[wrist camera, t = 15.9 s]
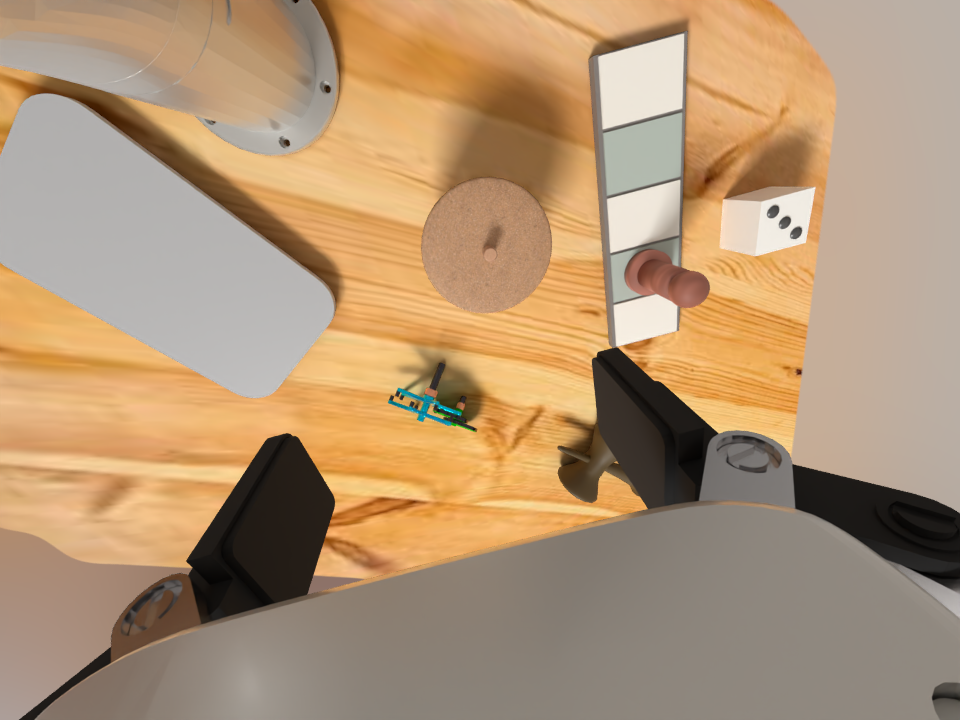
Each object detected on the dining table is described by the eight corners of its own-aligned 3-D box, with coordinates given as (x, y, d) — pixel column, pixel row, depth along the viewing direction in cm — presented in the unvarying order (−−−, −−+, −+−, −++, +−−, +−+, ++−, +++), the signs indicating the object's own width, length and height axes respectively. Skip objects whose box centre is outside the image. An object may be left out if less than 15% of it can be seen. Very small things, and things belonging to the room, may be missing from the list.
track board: (588, 59, 30) (594, 55, 29) (680, 35, 30) (689, 29, 29) (609, 344, 43) (613, 348, 42) (673, 327, 43) (679, 331, 42)
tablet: (270, 397, 42) (261, 408, 40) (-5, 240, 32) (-35, 244, 30) (352, 295, 37) (347, 301, 35) (63, 78, 28) (34, 70, 26)
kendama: (634, 496, 56) (531, 458, 50) (674, 451, 53) (570, 405, 47) (656, 528, 51) (544, 491, 44) (702, 480, 48) (589, 433, 41)
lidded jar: (417, 280, 37) (411, 309, 29) (433, 165, 33) (431, 160, 24) (515, 298, 39) (537, 329, 31) (543, 192, 35) (577, 195, 26)
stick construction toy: (374, 404, 41) (406, 415, 35) (398, 348, 42) (433, 350, 36) (452, 433, 48) (490, 447, 42) (470, 384, 49) (509, 391, 43)
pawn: (623, 255, 37) (674, 275, 29) (666, 243, 37) (729, 260, 29) (625, 296, 39) (673, 326, 31) (666, 286, 39) (724, 312, 31)
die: (722, 199, 37) (762, 201, 32) (769, 186, 37) (816, 186, 32) (719, 247, 39) (756, 256, 35) (763, 235, 39) (806, 242, 35)
